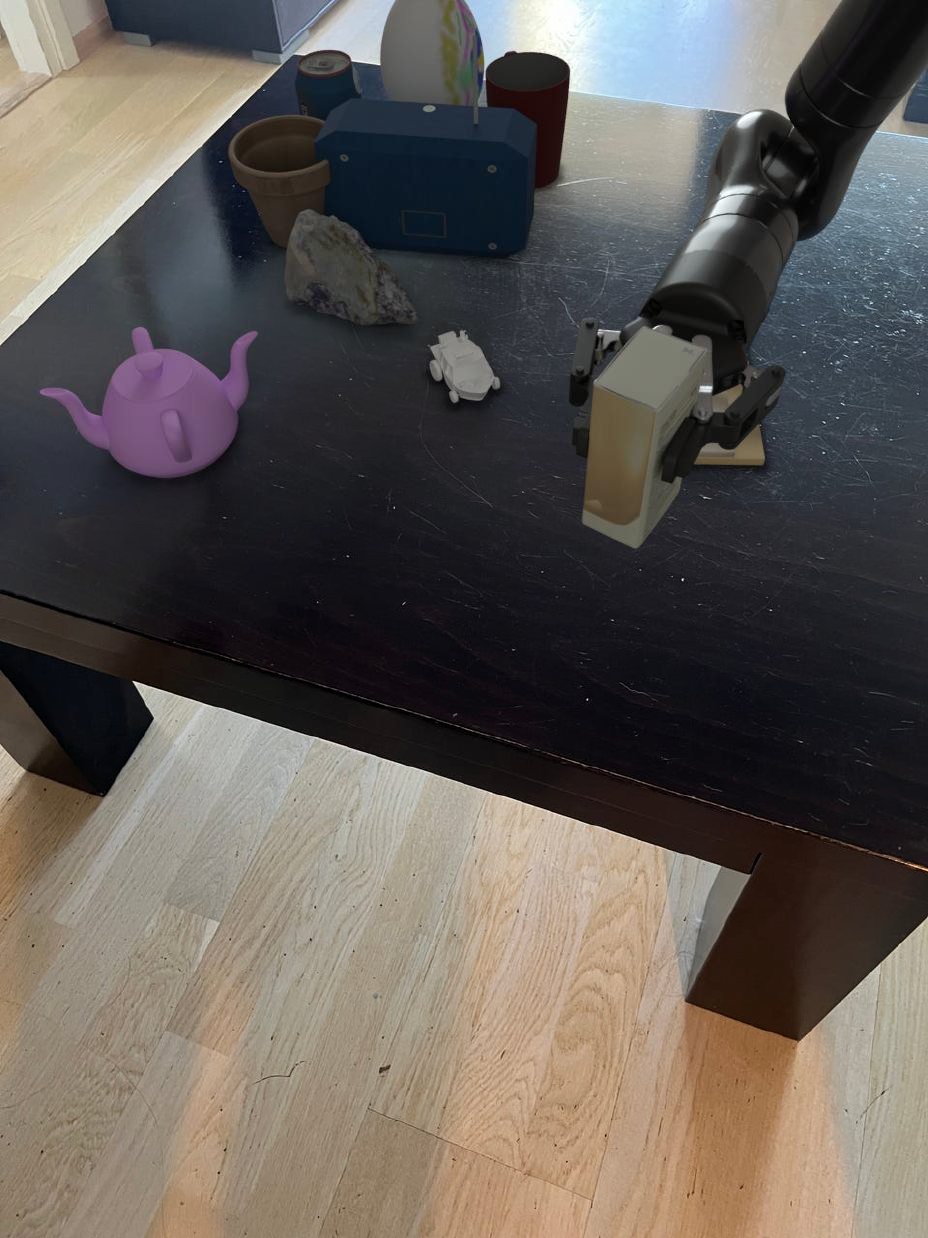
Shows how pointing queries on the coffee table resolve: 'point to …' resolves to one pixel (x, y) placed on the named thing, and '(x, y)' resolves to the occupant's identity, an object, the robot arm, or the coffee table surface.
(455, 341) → the toy car
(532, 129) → the radio
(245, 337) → the teapot
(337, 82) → the soda can
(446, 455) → the coffee table surface
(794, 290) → the coffee table surface
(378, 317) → the mineral rock
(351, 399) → the coffee table surface
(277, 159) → the flower pot
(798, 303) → the coffee table surface
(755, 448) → the word board
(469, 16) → the decorative egg
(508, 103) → the mug
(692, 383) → the cosmetic box
